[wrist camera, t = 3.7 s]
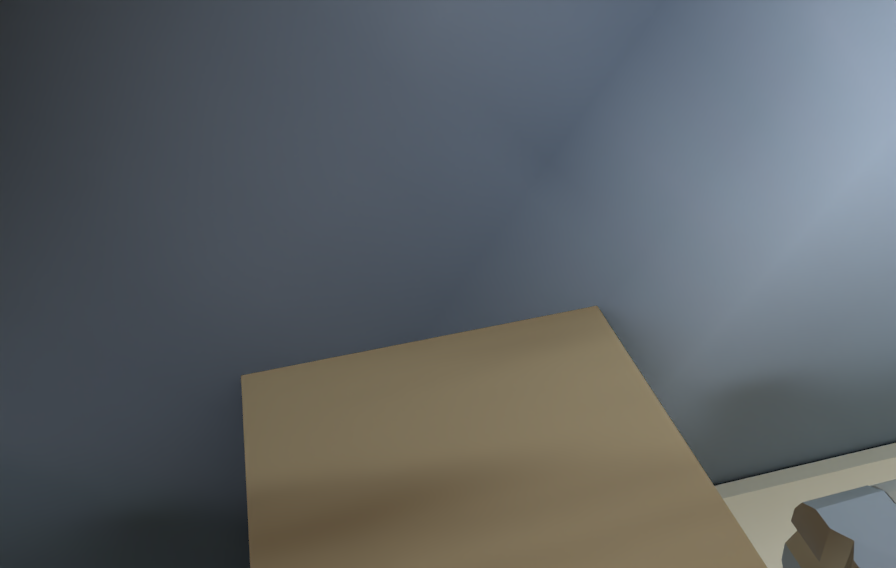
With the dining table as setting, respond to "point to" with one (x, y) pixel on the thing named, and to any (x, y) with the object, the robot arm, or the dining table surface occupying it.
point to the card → (799, 494)
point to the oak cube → (479, 458)
